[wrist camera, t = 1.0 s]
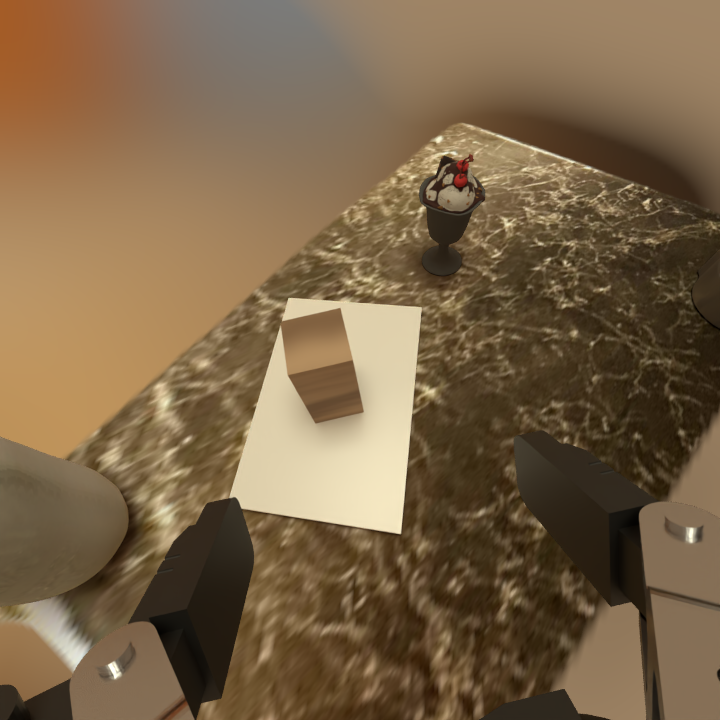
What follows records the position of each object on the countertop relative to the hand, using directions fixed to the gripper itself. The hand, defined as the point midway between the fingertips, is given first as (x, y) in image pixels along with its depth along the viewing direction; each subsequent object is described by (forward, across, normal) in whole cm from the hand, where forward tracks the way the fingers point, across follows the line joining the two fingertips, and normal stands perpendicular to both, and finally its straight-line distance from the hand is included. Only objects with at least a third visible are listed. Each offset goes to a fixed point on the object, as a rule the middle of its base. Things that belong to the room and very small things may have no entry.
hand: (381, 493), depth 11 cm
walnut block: (+28, +2, +6) cm, 28 cm away
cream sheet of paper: (+28, +2, +7) cm, 29 cm away
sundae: (+39, -14, -4) cm, 41 cm away
